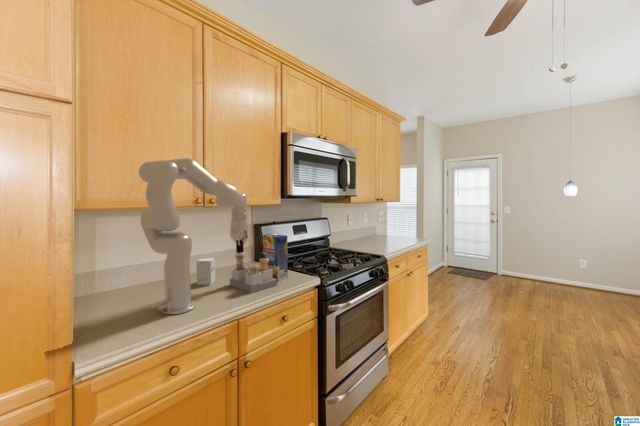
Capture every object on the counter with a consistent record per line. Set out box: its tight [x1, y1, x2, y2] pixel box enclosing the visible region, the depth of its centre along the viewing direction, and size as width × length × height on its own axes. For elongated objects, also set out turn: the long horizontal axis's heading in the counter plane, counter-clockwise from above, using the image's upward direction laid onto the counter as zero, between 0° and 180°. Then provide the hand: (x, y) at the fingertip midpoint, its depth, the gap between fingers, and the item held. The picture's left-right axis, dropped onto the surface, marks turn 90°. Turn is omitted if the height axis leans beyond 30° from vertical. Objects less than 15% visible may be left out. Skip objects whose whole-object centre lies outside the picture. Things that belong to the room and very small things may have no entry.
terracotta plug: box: [259, 257, 269, 271], centre depth 149 cm, size 5×5×9 cm
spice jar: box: [248, 263, 260, 275], centre depth 142 cm, size 5×5×9 cm
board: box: [229, 267, 278, 294], centre depth 149 cm, size 16×19×8 cm
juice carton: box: [262, 233, 289, 282], centre depth 161 cm, size 12×8×24 cm, turn 51°
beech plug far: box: [234, 252, 246, 271], centre depth 149 cm, size 5×5×9 cm
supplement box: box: [196, 257, 216, 286], centre depth 151 cm, size 7×7×13 cm
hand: (239, 252), depth 149 cm, fingers closed
